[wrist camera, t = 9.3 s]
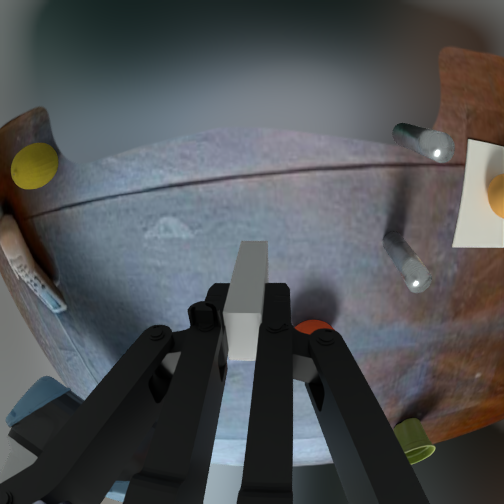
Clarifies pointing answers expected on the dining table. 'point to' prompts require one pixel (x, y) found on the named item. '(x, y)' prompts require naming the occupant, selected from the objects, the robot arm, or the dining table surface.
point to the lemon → (34, 166)
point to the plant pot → (413, 440)
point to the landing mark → (479, 198)
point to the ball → (497, 195)
